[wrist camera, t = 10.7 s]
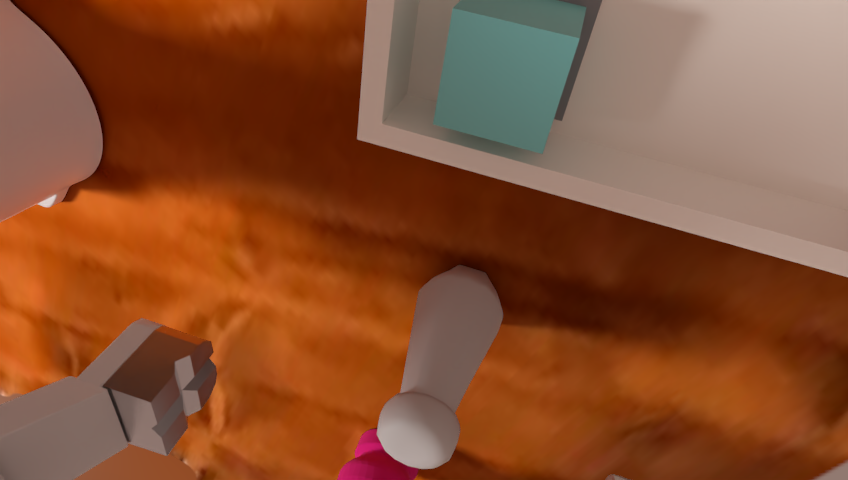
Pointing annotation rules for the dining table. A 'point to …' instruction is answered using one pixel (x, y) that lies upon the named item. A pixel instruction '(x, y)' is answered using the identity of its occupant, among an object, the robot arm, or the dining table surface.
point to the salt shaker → (440, 366)
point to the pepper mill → (375, 462)
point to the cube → (507, 68)
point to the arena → (657, 116)
